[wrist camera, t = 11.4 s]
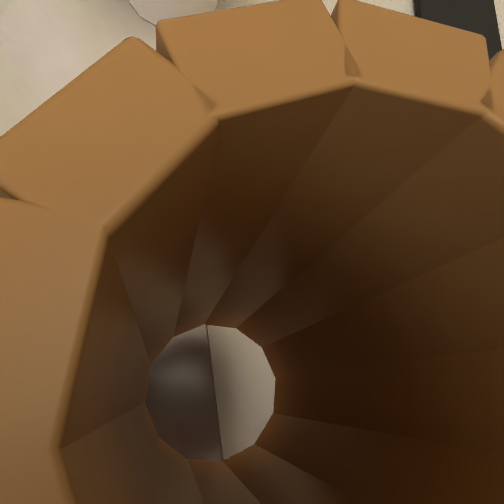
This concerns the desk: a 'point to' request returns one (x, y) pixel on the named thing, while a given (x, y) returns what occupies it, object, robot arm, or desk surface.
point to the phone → (464, 18)
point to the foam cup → (171, 8)
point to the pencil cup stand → (186, 397)
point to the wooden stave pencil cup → (262, 259)
